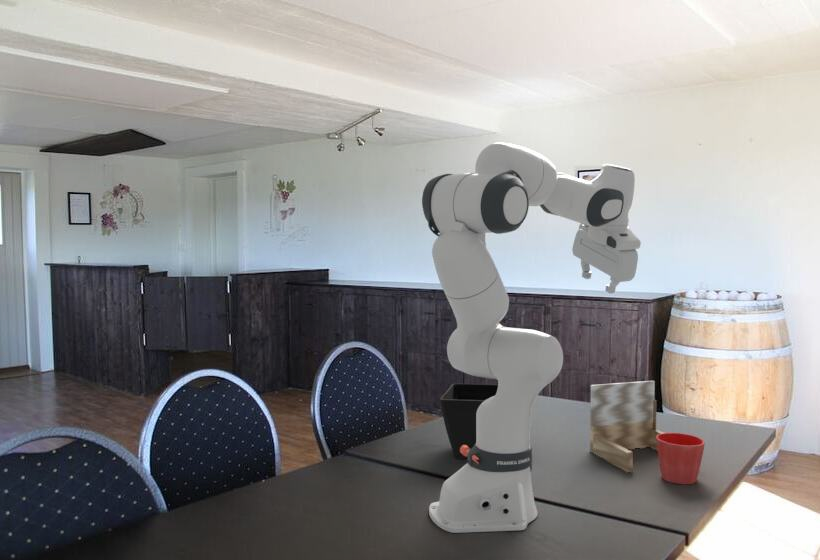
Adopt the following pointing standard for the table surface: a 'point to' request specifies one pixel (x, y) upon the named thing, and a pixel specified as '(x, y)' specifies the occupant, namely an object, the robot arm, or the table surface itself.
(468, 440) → the flower pot
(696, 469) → the flower pot
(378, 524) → the table surface
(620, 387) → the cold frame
